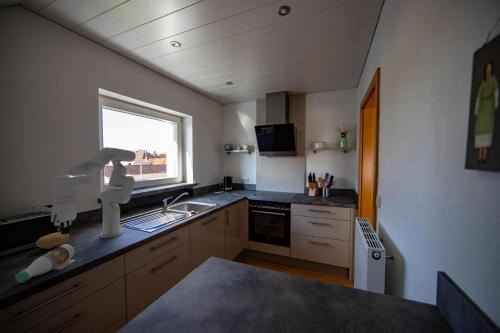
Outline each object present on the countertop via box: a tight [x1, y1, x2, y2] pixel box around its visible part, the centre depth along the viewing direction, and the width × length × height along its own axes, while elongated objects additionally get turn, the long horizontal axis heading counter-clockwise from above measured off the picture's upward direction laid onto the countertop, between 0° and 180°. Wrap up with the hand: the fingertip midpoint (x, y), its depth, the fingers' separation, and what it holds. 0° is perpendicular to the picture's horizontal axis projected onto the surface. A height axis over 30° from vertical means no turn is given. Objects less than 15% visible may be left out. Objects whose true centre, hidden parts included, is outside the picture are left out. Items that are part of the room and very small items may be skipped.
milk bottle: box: [14, 243, 75, 284], centre depth 91 cm, size 8×8×20 cm
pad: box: [52, 259, 76, 270], centre depth 96 cm, size 8×15×1 cm, turn 91°
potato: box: [35, 231, 70, 250], centre depth 114 cm, size 10×14×8 cm
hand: (65, 233), depth 102 cm, fingers closed
